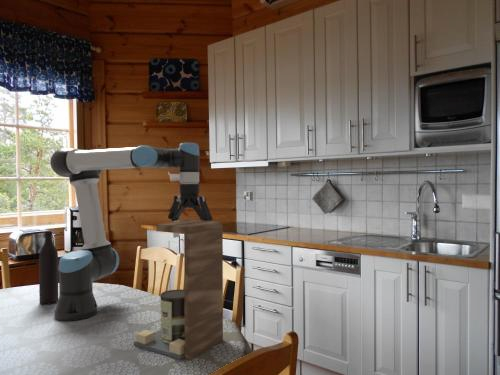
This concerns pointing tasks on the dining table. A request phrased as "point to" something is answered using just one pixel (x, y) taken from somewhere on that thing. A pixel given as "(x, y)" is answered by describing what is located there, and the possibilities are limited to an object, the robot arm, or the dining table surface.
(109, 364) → the dining table surface
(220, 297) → the walnut shelf
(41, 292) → the wine bottle
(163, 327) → the coffee can
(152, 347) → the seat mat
